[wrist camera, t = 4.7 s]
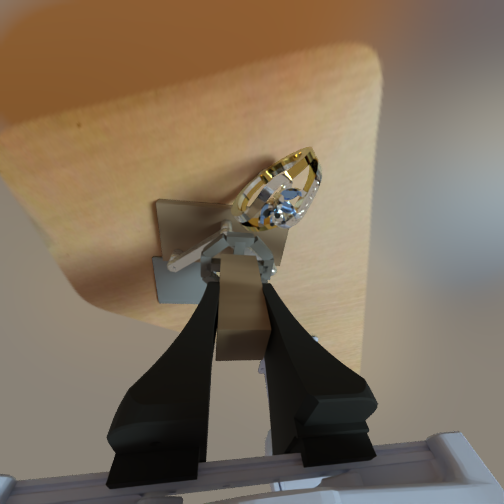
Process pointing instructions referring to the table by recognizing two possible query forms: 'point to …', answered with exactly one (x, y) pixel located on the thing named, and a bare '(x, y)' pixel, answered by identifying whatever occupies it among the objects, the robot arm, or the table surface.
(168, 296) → the mat
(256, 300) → the ring wand
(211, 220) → the base
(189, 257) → the bent wire
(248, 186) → the ring
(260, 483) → the robot arm
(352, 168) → the table surface
